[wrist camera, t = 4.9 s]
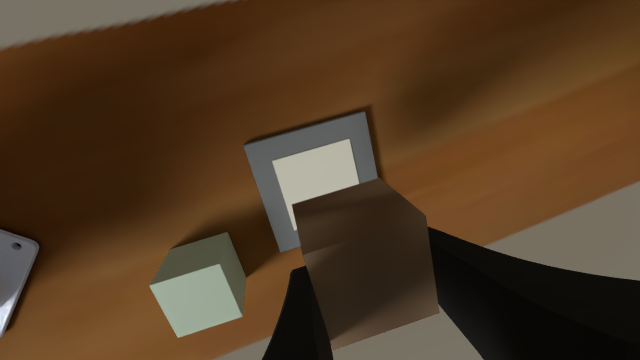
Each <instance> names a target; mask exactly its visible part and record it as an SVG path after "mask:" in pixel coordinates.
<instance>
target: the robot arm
mask: <svg viewBox="0 0 640 360" xmlns="http://www.w3.org/2000/svg"><path fill="white" fill-rule="evenodd" d="M428 235H429V242H430V249H431V256H432V263H433V270H434V278H435V285H436V292H437V299H438V304H439V305H440V306H441V308H442V309H443V310H444V311H445V312H446V314H447V315H448V316H449V317H450V319H451V320H452V321H453V322H454V323H455V324H456V326H457V327H458V328H459V329H460V331H461V332H462V333H463V334H464V336H465V337H466V338H467V339H468V340H469V342H470V343H471V344H472V345H473V346H474V348H475V349H476V350H477V351H478V353H479V354H480V355H481V356H482V358H483V359H484V360H640V281H638V280H630V279H621V278H613V277H607V276H600V275H593V274H587V273H582V272H576V271H571V270H566V269H560V268H556V267H551V266H547V265H542V264H538V263H535V262H531V261H526V260H522V259H518V258H515V257H512V256H509V255H506V254H502V253H499V252H496V251H493V250H490V249H487V248H484V247H481V246H478V245H476V244H473V243H470V242H467V241H465V240H462V239H460V238H457V237H454V236H452V235H449V234H447V233H444V232H441V231H439V230H436V229H433V228H430V227H428ZM16 243H19V244H20V245H21V247H20V246H18V245H17V244H16ZM38 251H39V245H38V243H37V242H35V241H33V240H31V239H28V238H25V237H22V236H19V235H16V234H13V233H10V232H7V231H4V230H1V229H0V338H1V337H2V336H3V334H4V333H5V330H6V328H7V325H8V323H9V320H10V318H11V316H12V313H13V311H14V308H15V306H16V304H17V301H18V299H19V296H20V294H21V292H22V289H23V287H24V284H25V282H26V280H27V277H28V275H29V272H30V270H31V268H32V265H33V263H34V260H35V258H36V255H37V253H38ZM262 360H333V355H332V349H331V343H330V339H329V336H328V333H327V329H326V326H325V323H324V320H323V317H322V314H321V311H320V307H319V304H318V301H317V298H316V295H315V292H314V288H313V285H312V282H311V279H310V276H309V273H308V270H307V267H306V266H303V267H300V268H297V269H294V270H292V272H291V273H290V279H289V285H288V289H287V293H286V297H285V300H284V304H283V307H282V310H281V314H280V317H279V319H278V322H277V325H276V327H275V330H274V333H273V335H272V338H271V340H270V343H269V345H268V348H267V350H266V352H265V354H264V356H263V358H262Z"/></svg>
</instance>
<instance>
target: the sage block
mask: <svg viewBox="0 0 640 360" xmlns="http://www.w3.org/2000/svg"><path fill="white" fill-rule="evenodd" d="M245 285H246V276H245V274H244V271H243V269H242V266H241V264H240V261H239V259H238V256H237V254H236V251H235V249H234V246H233V244H232V241H231V239H230V237H229V234H228V232H225V233H222V234H219V235H215V236H212V237H209V238H206V239H202V240H199V241H196V242H192V243H189V244H186V245H182V246H179V247H176V248H173V249H170V250H169V252H168V254H167V256H166V257H165V259H164V261H163V263H162V264H161V266H160V268H159V270H158V271H157V273H156V275H155V277H154V278H153V280H152V282H151V284H150V285H149V286H150V288H151V290H152V292H153V293H154V295H155V297H156V299H157V301H158V302H159V304H160V306H161V308H162V310H163V312H164V313H165V315H166V317H167V319H168V321H169V322H170V324H171V326H172V328H173V330H174V332H175V333H176V335H177V337H178V338H179V337H182V336H185V335H188V334H191V333H194V332H197V331H200V330H203V329H206V328H209V327H212V326H215V325H218V324H221V323H224V322H227V321H230V320H234V319H237V318H240V317H242V315H243V305H244V295H245Z"/></svg>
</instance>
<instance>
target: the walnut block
mask: <svg viewBox="0 0 640 360" xmlns="http://www.w3.org/2000/svg"><path fill="white" fill-rule="evenodd" d="M292 208H293V213H294V217H295V222H296V226H297V231H298V236H299V240H300V245H301V249H302V254H303V257H304V260H305V264H306V267H307V270H308V273H309V276H310V279H311V282H312V285H313V288H314V292H315V295H316V298H317V301H318V304H319V307H320V311H321V314H322V317H323V320H324V323H325V326H326V329H327V333H328V336H329V339H330V342H331V345H332V348H333V350H335V349H338V348H340V347H344V346H346V345H349V344H352V343H355V342H358V341H361V340H363V339H366V338H369V337H372V336H375V335H378V334H380V333H383V332H386V331H389V330H392V329H395V328H398V327H400V326H403V325H406V324H409V323H412V322H415V321H418V320H421V319H423V318H426V317H429V316H432V315H435V314H438V313H439V306H438V299H437V292H436V285H435V278H434V270H433V263H432V256H431V249H430V242H429V235H428V227H427V220H426V215H424V214H423V213H422V212H421V211H420V210H418V209H417V208H416V207H415V206H414V205H412V204H411V203H410V202H409V201H407V200H406V199H405V198H404V197H403V196H401V195H400V194H399V193H398V192H396V191H395V190H394V189H393V188H392V187H390V186H389V185H388V184H387V183H386V182H384V181H383V180H382V179H381V178H377V179H374V180H370V181H367V182H364V183H360V184H357V185H354V186H351V187H347V188H344V189H341V190H337V191H334V192H331V193H328V194H324V195H321V196H318V197H314V198H311V199H308V200H305V201H301V202H298V203H295V204H292Z"/></svg>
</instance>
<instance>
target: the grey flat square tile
mask: <svg viewBox="0 0 640 360" xmlns="http://www.w3.org/2000/svg"><path fill="white" fill-rule="evenodd" d="M244 149H245V152H246V155H247V158H248V160H249V163H250V166H251V169H252V172H253V175H254V178H255V181H256V183H257V186H258V189H259V192H260V195H261V198H262V201H263V204H264V206H265V209H266V212H267V215H268V218H269V221H270V224H271V227H272V229H273V232H274V235H275V238H276V241H277V244H278V247H279V250H280V253H281V252H284V251H287V250H290V249H293V248H297V247H300V246H301V245H300V240H299V236H298V231H297V226H296V222H295V217H294V213H293V208H292V204H295V203H298V202H301V201H305V200H308V199H311V198H314V197H318V196H321V195H324V194H328V193H331V192H334V191H337V190H341V189H344V188H347V187H351V186H354V185H357V184H360V183H364V182H367V181H370V180H374V179H377V178H378V176H377V171H376V166H375V161H374V155H373V150H372V145H371V140H370V135H369V130H368V124H367V119H366V114H365V111H360V112H356V113H353V114H349V115H346V116H342V117H339V118H335V119H331V120H328V121H324V122H321V123H317V124H314V125H310V126H307V127H303V128H300V129H296V130H292V131H289V132H285V133H282V134H278V135H275V136H271V137H268V138H264V139H261V140H257V141H254V142H250V143H246V144H244Z"/></svg>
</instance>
